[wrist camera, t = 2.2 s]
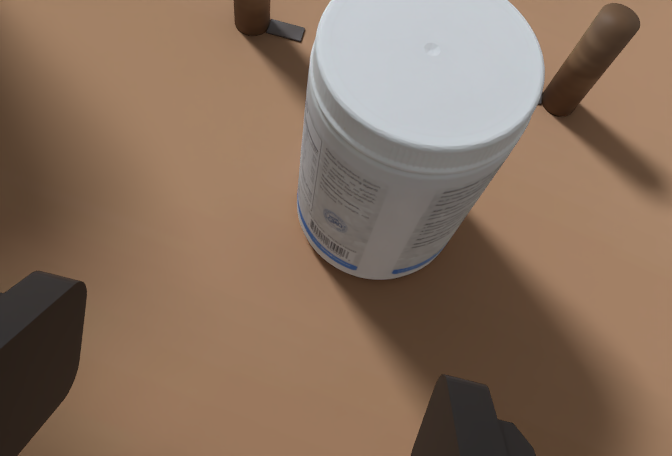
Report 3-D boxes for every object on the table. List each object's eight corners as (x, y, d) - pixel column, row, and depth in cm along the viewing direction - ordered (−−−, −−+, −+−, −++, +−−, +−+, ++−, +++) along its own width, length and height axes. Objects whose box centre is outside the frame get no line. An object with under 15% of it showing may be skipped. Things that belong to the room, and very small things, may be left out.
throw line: (230, 30, 41) (224, -70, 34) (240, 5, 42) (236, -98, 35) (573, 120, 42) (639, 39, 34) (575, 92, 43) (640, 9, 35)
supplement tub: (442, 149, 39) (536, -32, 26) (456, 287, 35) (576, 158, 22) (293, 141, 38) (312, -51, 25) (291, 283, 34) (313, 146, 21)
